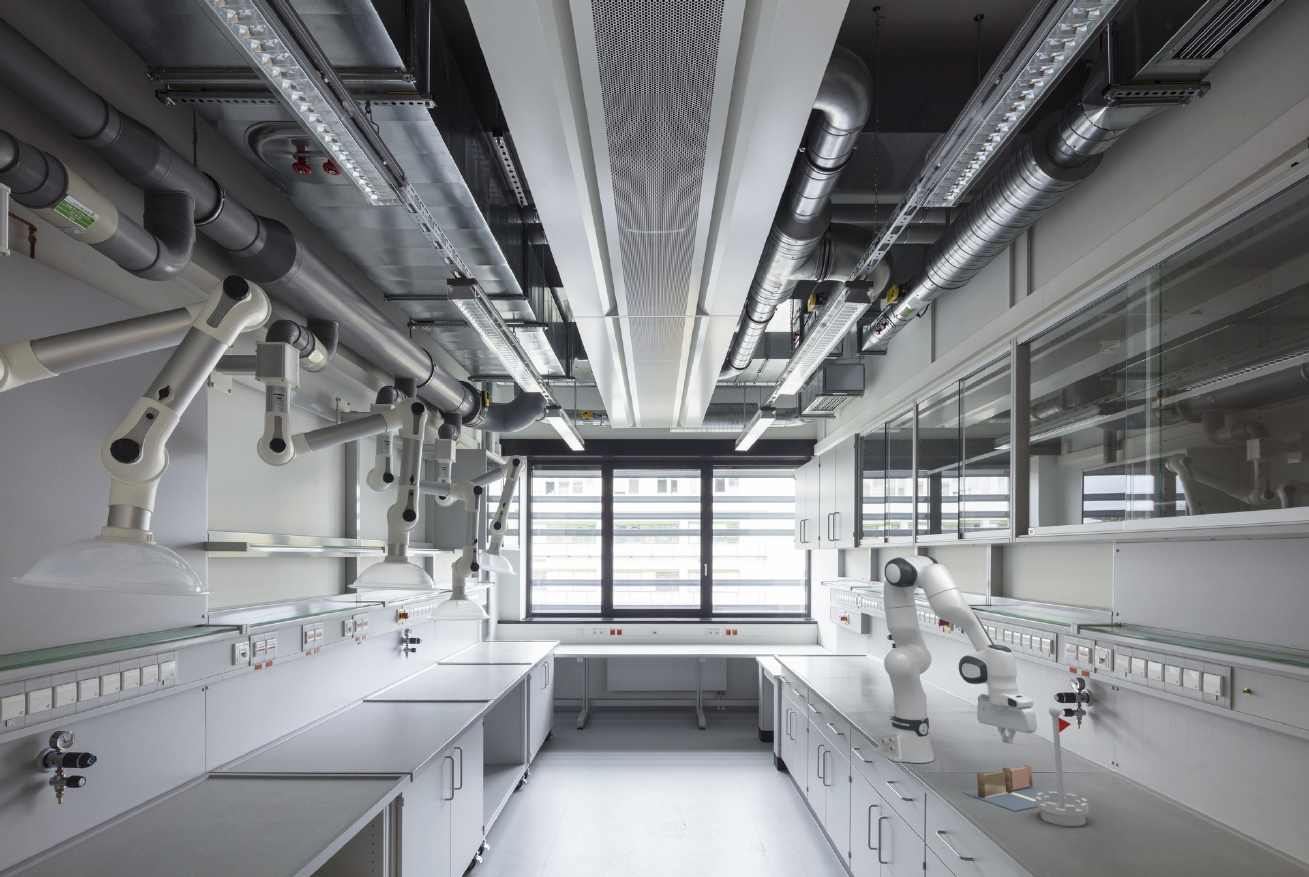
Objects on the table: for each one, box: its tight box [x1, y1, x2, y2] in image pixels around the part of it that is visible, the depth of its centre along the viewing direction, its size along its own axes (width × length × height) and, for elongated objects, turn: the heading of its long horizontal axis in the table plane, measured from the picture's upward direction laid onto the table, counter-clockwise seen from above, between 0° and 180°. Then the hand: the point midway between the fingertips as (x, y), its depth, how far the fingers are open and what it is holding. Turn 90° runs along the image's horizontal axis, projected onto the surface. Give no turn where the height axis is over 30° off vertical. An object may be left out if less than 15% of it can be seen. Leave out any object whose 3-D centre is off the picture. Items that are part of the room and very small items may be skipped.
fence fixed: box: [976, 767, 1012, 798], centre depth 237 cm, size 2×13×7 cm, turn 116°
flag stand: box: [1035, 705, 1090, 827], centre depth 218 cm, size 13×13×30 cm
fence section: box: [1009, 764, 1034, 790], centre depth 242 cm, size 2×9×6 cm, turn 116°
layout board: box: [962, 786, 1049, 813], centre depth 236 cm, size 19×24×1 cm
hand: (1007, 742), depth 248 cm, fingers closed
